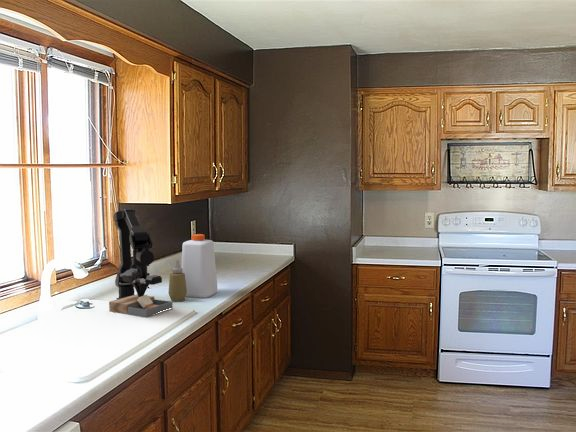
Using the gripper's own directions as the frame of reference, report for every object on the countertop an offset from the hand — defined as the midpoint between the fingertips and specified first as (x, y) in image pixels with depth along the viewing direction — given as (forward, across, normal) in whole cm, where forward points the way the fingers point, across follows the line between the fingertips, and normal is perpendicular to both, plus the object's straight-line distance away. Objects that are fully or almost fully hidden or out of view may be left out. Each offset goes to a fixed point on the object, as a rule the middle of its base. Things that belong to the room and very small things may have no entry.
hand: (140, 298), depth 244 cm
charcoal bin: (+5, +5, 0) cm, 7 cm away
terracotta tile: (+2, +6, 0) cm, 7 cm away
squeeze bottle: (+5, +2, +21) cm, 22 cm away
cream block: (+2, +2, 0) cm, 2 cm away
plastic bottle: (+5, +3, +35) cm, 36 cm away
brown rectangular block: (+5, -5, 0) cm, 7 cm away
